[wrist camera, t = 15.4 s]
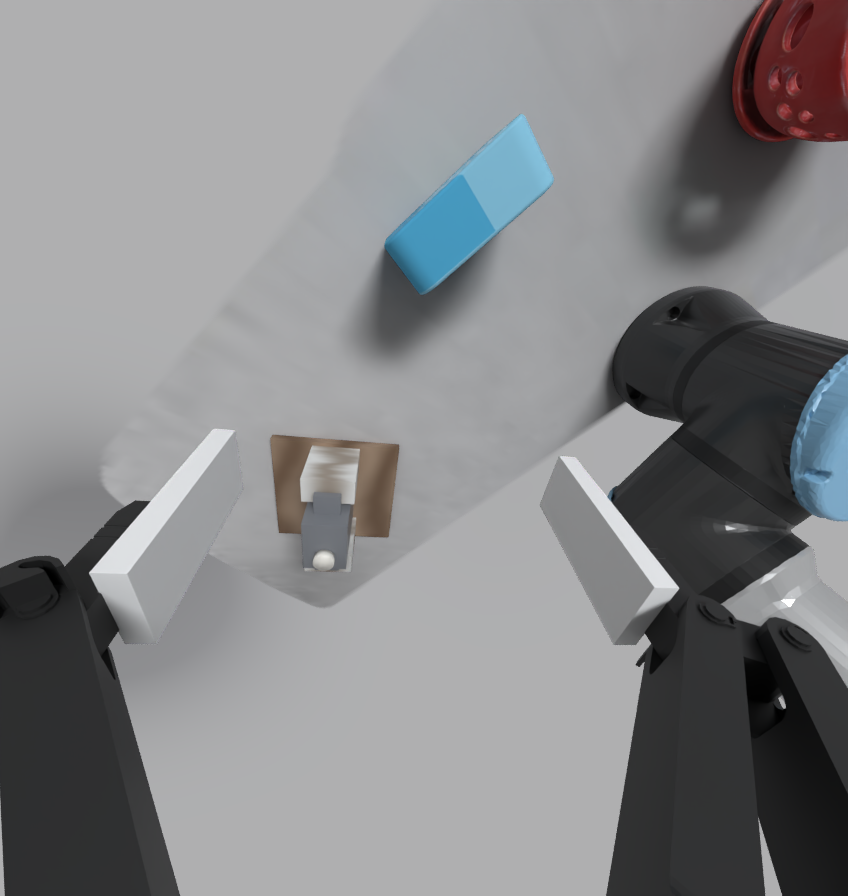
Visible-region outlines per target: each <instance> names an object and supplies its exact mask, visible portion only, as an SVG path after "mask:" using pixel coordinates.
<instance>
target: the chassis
mask: <svg viewBox="0 0 848 896" xmlns="http://www.w3.org/2000/svg"><path fill="white" fill-rule="evenodd" d="M270 440H271V451H272V462H273V472H274V483H275V494H276V504H277V515H278V526H279V533H297V534H301V523H302V519H303V516H304V513H305V509H306V506H307V502H313V495H314V492H325V493H342V498H341V504H354V508H353V519H352V527H351V534H350V542H349V550H348V557H347V565H346V569H339V571H332V570H327V571H326V572H351V567H352V558H353V550H354V541H355V536H367V537H388V536H389V528H390V520H391V512H392V503H393V495H394V487H395V479H396V470H397V462H398V454H399V445H396V444H383V443H370V442H357V441H344V440H332V439H319V438H306V437H293V436H280V435H272V437H271V439H270ZM304 571H321V570H315V568H304Z"/></svg>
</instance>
